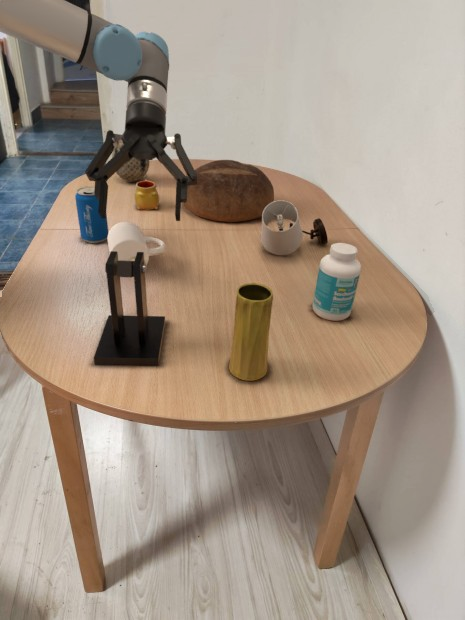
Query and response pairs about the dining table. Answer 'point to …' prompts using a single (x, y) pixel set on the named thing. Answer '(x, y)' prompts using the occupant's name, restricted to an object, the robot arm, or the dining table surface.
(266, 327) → the vase
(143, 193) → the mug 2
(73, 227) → the dining table surface
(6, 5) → the robot arm
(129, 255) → the mug
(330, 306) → the pill bottle
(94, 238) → the beverage can
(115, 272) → the stand
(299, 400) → the dining table surface
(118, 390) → the dining table surface
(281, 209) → the light fixture
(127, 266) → the lever
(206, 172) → the bread
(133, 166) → the decorative egg
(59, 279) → the dining table surface
